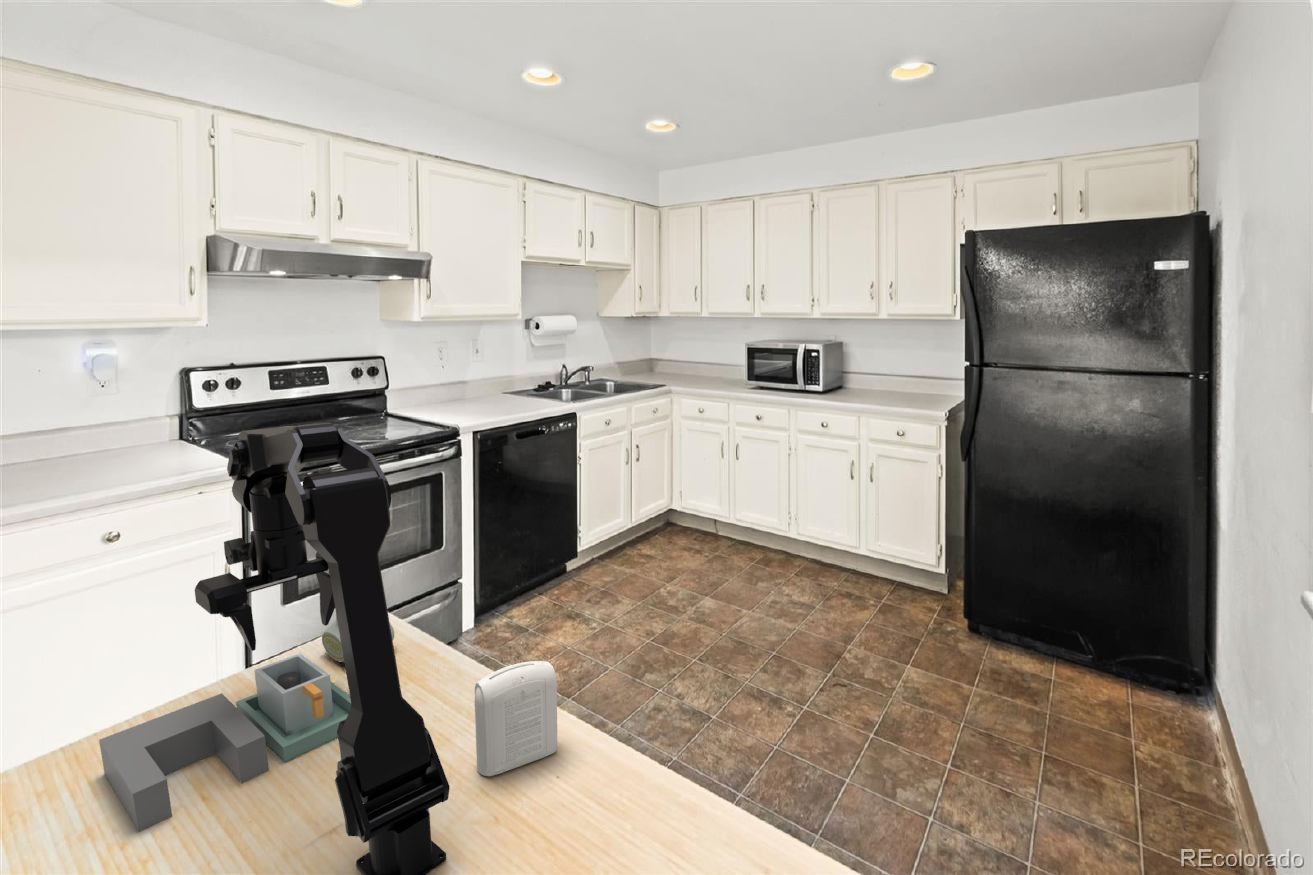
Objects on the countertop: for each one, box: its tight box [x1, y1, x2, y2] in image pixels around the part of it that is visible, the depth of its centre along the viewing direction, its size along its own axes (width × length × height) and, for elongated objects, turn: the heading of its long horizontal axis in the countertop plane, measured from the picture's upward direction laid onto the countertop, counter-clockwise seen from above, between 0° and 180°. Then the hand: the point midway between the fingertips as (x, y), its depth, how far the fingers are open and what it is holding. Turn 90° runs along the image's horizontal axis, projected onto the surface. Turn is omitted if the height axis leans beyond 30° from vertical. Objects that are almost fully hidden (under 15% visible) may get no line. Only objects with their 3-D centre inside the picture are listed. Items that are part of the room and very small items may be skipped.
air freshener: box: [321, 614, 395, 663], centre depth 108 cm, size 11×8×10 cm
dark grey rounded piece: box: [277, 672, 301, 690], centre depth 93 cm, size 3×3×4 cm
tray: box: [235, 681, 351, 764], centre depth 91 cm, size 15×11×2 cm
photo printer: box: [474, 660, 558, 777], centre depth 83 cm, size 10×4×12 cm, turn 123°
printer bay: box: [98, 692, 270, 833], centre depth 80 cm, size 14×13×5 cm
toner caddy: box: [254, 652, 334, 736], centre depth 91 cm, size 12×6×6 cm, turn 51°
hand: (290, 636), depth 90 cm, fingers open, 9 cm apart
